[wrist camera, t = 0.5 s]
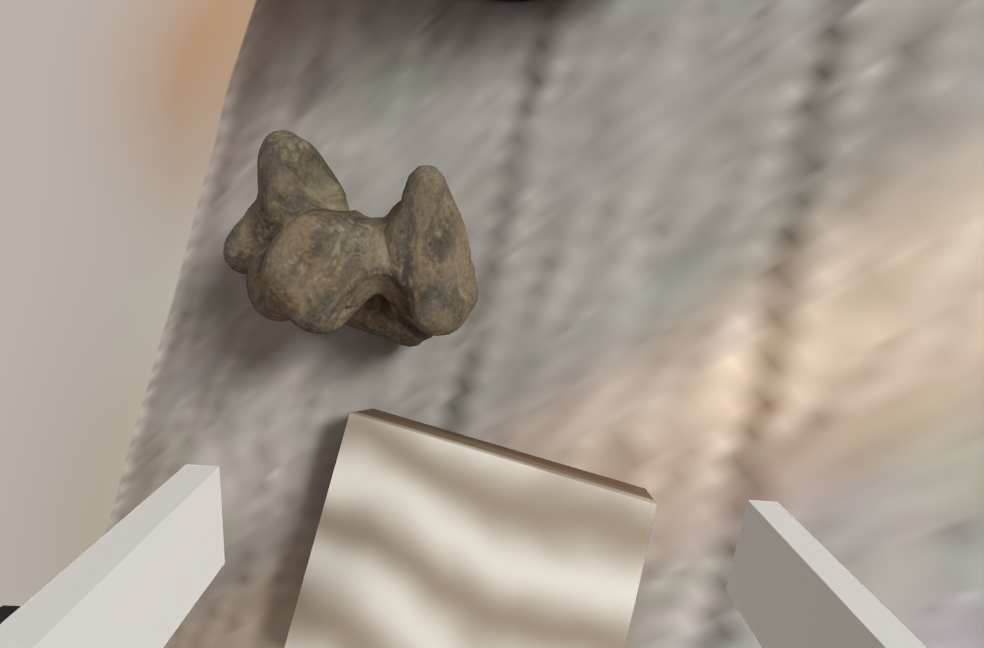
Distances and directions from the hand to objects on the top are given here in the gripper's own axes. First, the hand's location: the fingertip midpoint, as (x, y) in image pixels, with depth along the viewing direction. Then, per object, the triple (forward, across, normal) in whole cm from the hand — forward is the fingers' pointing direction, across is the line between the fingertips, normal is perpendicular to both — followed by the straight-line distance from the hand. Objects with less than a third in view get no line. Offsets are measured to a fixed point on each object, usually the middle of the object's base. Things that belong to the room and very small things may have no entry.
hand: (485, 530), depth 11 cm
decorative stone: (+27, -6, +2) cm, 28 cm away
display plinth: (+18, +1, -17) cm, 25 cm away
